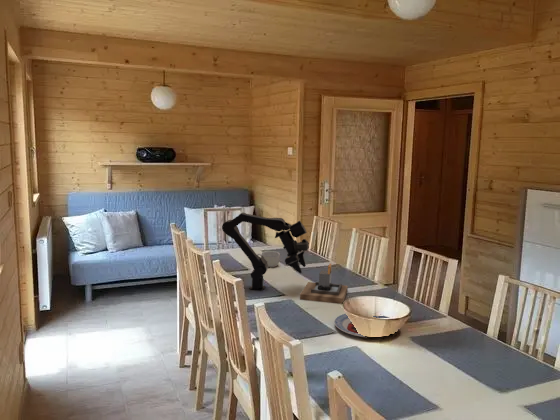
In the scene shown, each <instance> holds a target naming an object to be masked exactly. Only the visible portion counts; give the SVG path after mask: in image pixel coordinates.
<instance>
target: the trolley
mask: <svg viewBox="0 0 560 420" xmlns="http://www.w3.org/2000/svg"><path fill="white" fill-rule="evenodd" d="M332 272H333V271H332V263H329V264H328V266H327V270H323V269H322V270H320V272H319V275H318V282H319V285H318V290H323V289H324V290H325V291H330V289H331V287H332V284H333V283H332Z"/></svg>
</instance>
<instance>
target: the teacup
mask: <svg viewBox="0 0 560 420" xmlns="http://www.w3.org/2000/svg"><path fill="white" fill-rule="evenodd" d="M256 254H257V255H258V256H259V257H262V256H263V257H264V259H265V260H266V261H267V264H268V268H275V267H277V266H278V265H279V264H280V257H281V253H280V252H278V251H276V250H275V251H274V250H266V251H262V253H256Z"/></svg>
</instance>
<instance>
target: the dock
mask: <svg viewBox="0 0 560 420" xmlns="http://www.w3.org/2000/svg"><path fill="white" fill-rule="evenodd" d="M318 285H319V281H318V282H317V281H315V282H311V281H309V282H307V284H306V285H305V286H304V288H303V289H302V290H301V292H300V293H299V295H300V296H299V299H300V300H304V301H313V302H321V303H333V304H342V302H343V303H344V300H345V299H346V296H347V293H348V290H349V289H348V285H344V284H341V283H332V287H331V289H330V291H325V290H324V289H323V290H318Z"/></svg>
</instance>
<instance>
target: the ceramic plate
mask: <svg viewBox="0 0 560 420" xmlns="http://www.w3.org/2000/svg"><path fill="white" fill-rule="evenodd" d="M373 317H376V318H390V316H389V317H388V316H386V315H383V316H373ZM334 325H335V327H336V328H337V329H339V330H340V331H342V332H343V333H346V334H347V335H348V334H349V335H352V336H355V337H361V338H366V337H365V336H363V335H361V334H358V332H357V330H356V328H355V327H354V325H353V324H352V322H351V321H350V319H349V318H348V316H347V315H346V313H343V314H340V315H338V316H337V317H335V319H334Z"/></svg>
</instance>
